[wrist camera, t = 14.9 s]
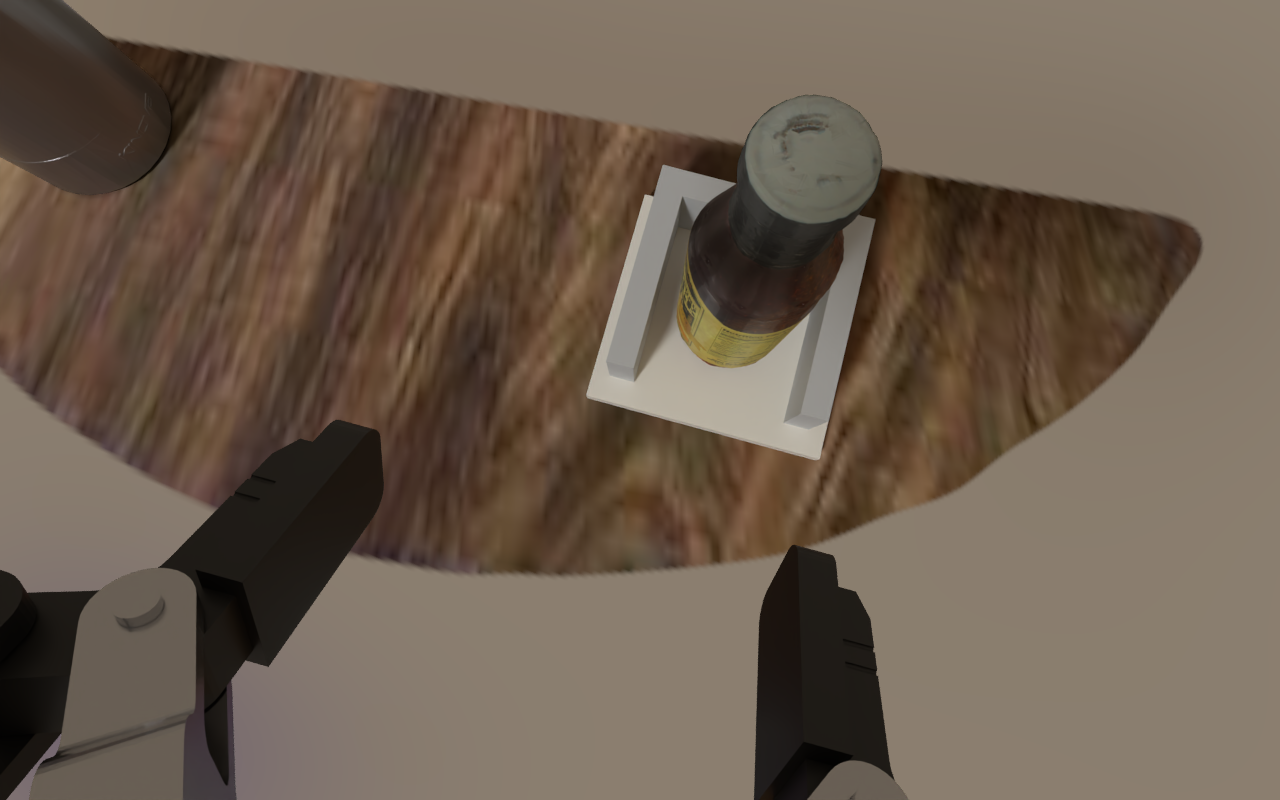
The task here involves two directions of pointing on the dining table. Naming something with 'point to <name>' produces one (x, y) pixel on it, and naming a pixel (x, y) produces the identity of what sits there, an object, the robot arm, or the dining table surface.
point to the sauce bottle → (776, 230)
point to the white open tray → (687, 386)
